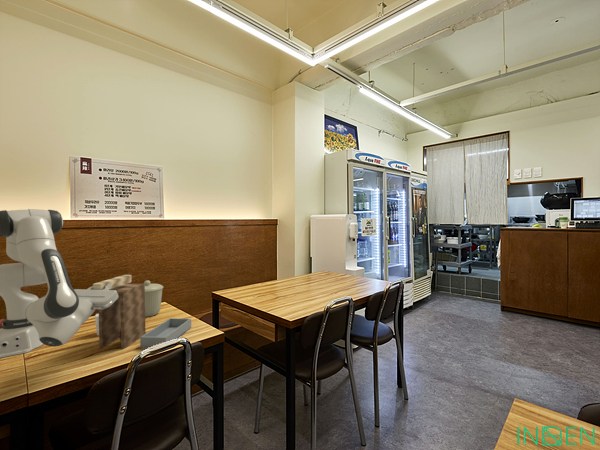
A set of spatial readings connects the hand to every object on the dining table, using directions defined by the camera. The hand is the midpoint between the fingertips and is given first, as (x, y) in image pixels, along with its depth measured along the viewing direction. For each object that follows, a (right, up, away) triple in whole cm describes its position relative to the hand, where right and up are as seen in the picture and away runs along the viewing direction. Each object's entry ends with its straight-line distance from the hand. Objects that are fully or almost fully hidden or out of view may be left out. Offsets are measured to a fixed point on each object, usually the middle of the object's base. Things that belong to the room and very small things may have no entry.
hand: (103, 284), depth 130 cm
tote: (+21, -29, +17) cm, 40 cm away
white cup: (-14, -30, +23) cm, 40 cm away
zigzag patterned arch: (+1, -30, +13) cm, 32 cm away
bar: (+1, -2, +6) cm, 7 cm away
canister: (-7, -29, +52) cm, 60 cm away
